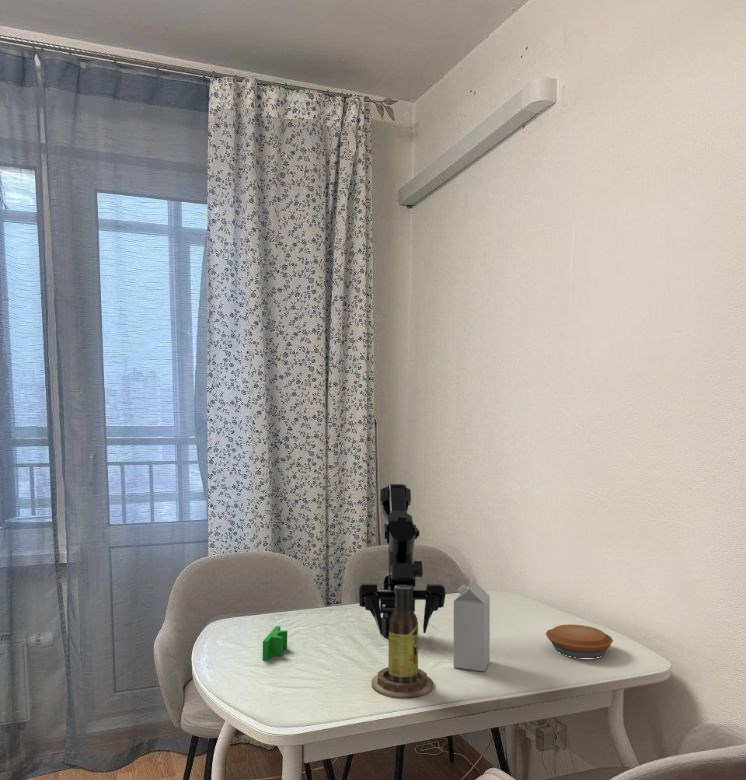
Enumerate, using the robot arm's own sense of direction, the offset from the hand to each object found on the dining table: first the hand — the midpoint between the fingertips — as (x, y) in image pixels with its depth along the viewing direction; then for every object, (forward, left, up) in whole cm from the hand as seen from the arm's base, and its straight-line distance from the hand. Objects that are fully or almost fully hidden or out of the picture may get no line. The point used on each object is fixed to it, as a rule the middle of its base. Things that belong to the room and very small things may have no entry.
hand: (402, 632), depth 138 cm
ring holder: (0, -1, -11) cm, 11 cm away
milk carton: (-20, -4, -11) cm, 24 cm away
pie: (-49, 0, -12) cm, 51 cm away
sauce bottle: (-1, -1, -11) cm, 11 cm away
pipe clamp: (+17, -31, -12) cm, 37 cm away
